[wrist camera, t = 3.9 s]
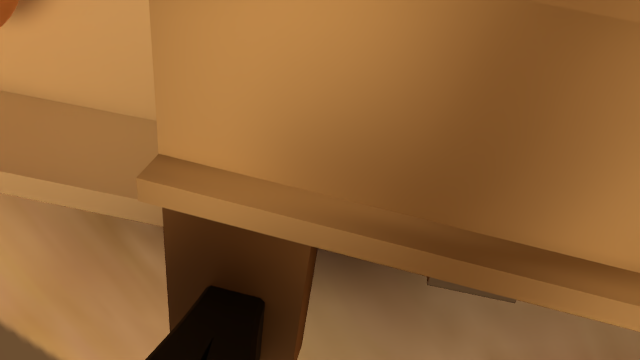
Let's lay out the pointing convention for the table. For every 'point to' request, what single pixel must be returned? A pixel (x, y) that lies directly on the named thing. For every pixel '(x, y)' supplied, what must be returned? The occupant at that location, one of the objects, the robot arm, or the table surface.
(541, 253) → the catapult lever
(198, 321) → the robot arm
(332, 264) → the table surface
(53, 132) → the tray
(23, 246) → the table surface
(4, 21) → the ball
